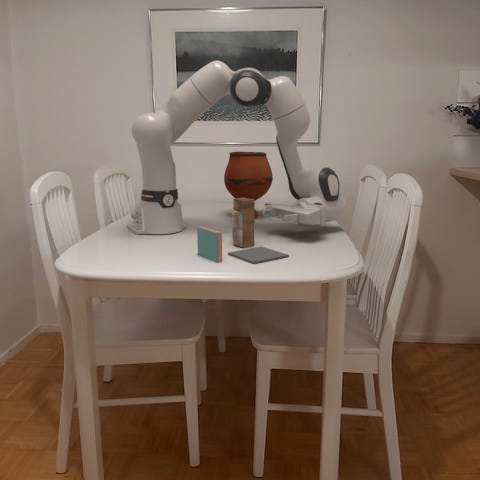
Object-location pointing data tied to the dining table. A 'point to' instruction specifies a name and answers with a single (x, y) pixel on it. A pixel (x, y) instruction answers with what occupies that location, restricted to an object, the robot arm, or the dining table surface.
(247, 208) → the tall wooden block
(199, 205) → the dining table surface
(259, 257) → the rest mat
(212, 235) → the tile
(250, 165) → the goblet
